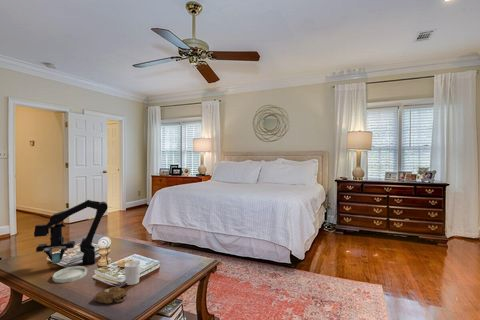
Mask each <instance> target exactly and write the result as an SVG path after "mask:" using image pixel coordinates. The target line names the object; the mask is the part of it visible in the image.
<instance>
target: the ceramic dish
mask: <svg viewBox="0 0 480 320" xmlns="http://www.w3.org/2000/svg"><path fill="white" fill-rule="evenodd" d="M87 274H88V268H87V267H86V266H85V265H82V266H81V265H75V266H68V267H64V268H62V269H59V270H58V271H56V272H54V274H53V275H52V281H54V283H59V284H60V283H61V284H64V283H72V282H75V281H78V280H81V279H83V278H84V277H85V276H87Z"/></svg>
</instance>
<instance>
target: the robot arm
mask: <svg viewBox="0 0 480 320" xmlns="http://www.w3.org/2000/svg"><path fill="white" fill-rule="evenodd" d="M87 208H91V209H93V210H96V213H95V216H94V219H93V220H92V222H91V225H90V228H89V230H88V232H87V235H86V236H85V237H82V240H81V242H80V243H79V250H80V253H83V256H82V257H81V258H82V259H81V261H82V263H81V264H82V266H89V265H95V264H96V261H97V259H96V251H95V250H96V249H95V248H96V247H95V246H94V245H92V244H93V239H94V237H95V235H96V232H97V229H98V228H99V227H98V226H99V224H100V222H101V220H102V218H103V216H104V215H105V214H106V212H107V210H108V203H107V202H106V201H96V200H91V199H87V200H86V199H85V201H83V202H80V203H79V204H76V205H74V206H72V207H70V208H68V209H66V210H61V211H58V212H55V213H53V214H52V215H51V216H50V218H49V221H48V222H47V223H46V224H36V225H35V227H34V231H33V236H34V238H40V237H47V236H48V235H49V234H50V238H49V241H50V244H48V243H41V244H39V245H38V246H37V247H36V249H35V252H36V253H39V252H40V253H41V252H43V253H44V254H46V256H47V257H48V259H49V260H50V262H52V254H53V249H56V248H57V249H58V248H61V249H60V253H61V255H60V260H61V261H62V259H63V257H64V254H65V252H66V251H67V250H68V249H73V248H75V246H76V241H75V240H70V241H69V240H68V241H67V242H66V243H65V237H64V236H63V228H65V227H66V225H67V224H66V223H64V222H63V221H64V220H66V219H68V217H71V216H72V215H74V214H76V213H78V212H80V211H84V209H87Z"/></svg>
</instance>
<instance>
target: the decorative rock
mask: <svg viewBox="0 0 480 320" xmlns="http://www.w3.org/2000/svg"><path fill="white" fill-rule="evenodd" d="M127 293H128V292H127V291H126V290H125V289H124V288H121V287H116V286H112V287H109V288H105V289H103V290H101V291H100V292H97V293H96V294H95V295H94V296H93V300H94V301H95V302H98V303H101V304H102V303H104V304H111V303H121V302H123V301H125V299H126V297H128V295H127Z"/></svg>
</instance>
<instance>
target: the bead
mask: <svg viewBox="0 0 480 320" xmlns="http://www.w3.org/2000/svg"><path fill="white" fill-rule="evenodd" d="M60 255H61V252H54V253H52V261H51V264H53V265H54V264H55V265H56V264H59V263H61V262H62V260H60Z"/></svg>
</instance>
